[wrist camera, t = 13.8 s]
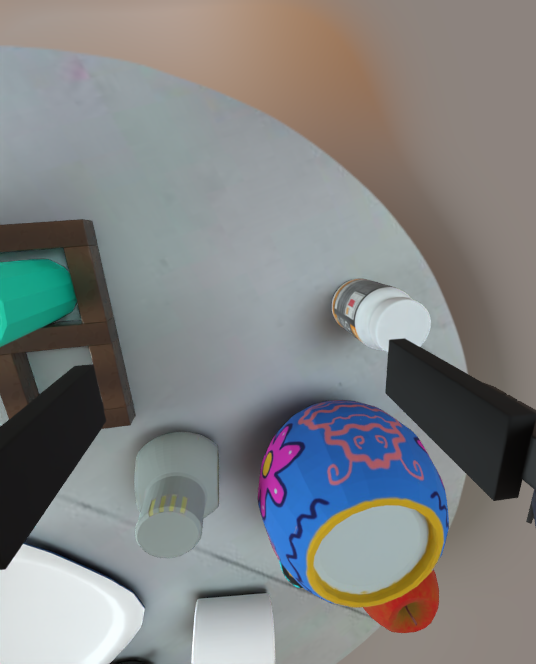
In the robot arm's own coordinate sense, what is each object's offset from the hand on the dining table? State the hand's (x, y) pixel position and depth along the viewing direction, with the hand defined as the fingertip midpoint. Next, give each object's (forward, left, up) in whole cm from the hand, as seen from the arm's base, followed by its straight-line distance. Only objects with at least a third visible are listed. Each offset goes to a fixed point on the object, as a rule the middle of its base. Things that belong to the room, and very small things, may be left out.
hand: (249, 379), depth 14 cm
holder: (+2, -18, -20) cm, 27 cm away
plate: (+40, -31, -20) cm, 54 cm away
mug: (+46, -5, -20) cm, 50 cm away
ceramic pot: (+19, +9, -20) cm, 29 cm away
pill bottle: (+2, +13, -20) cm, 23 cm away
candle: (-3, -18, -20) cm, 27 cm away
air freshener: (+19, -8, -20) cm, 28 cm away
